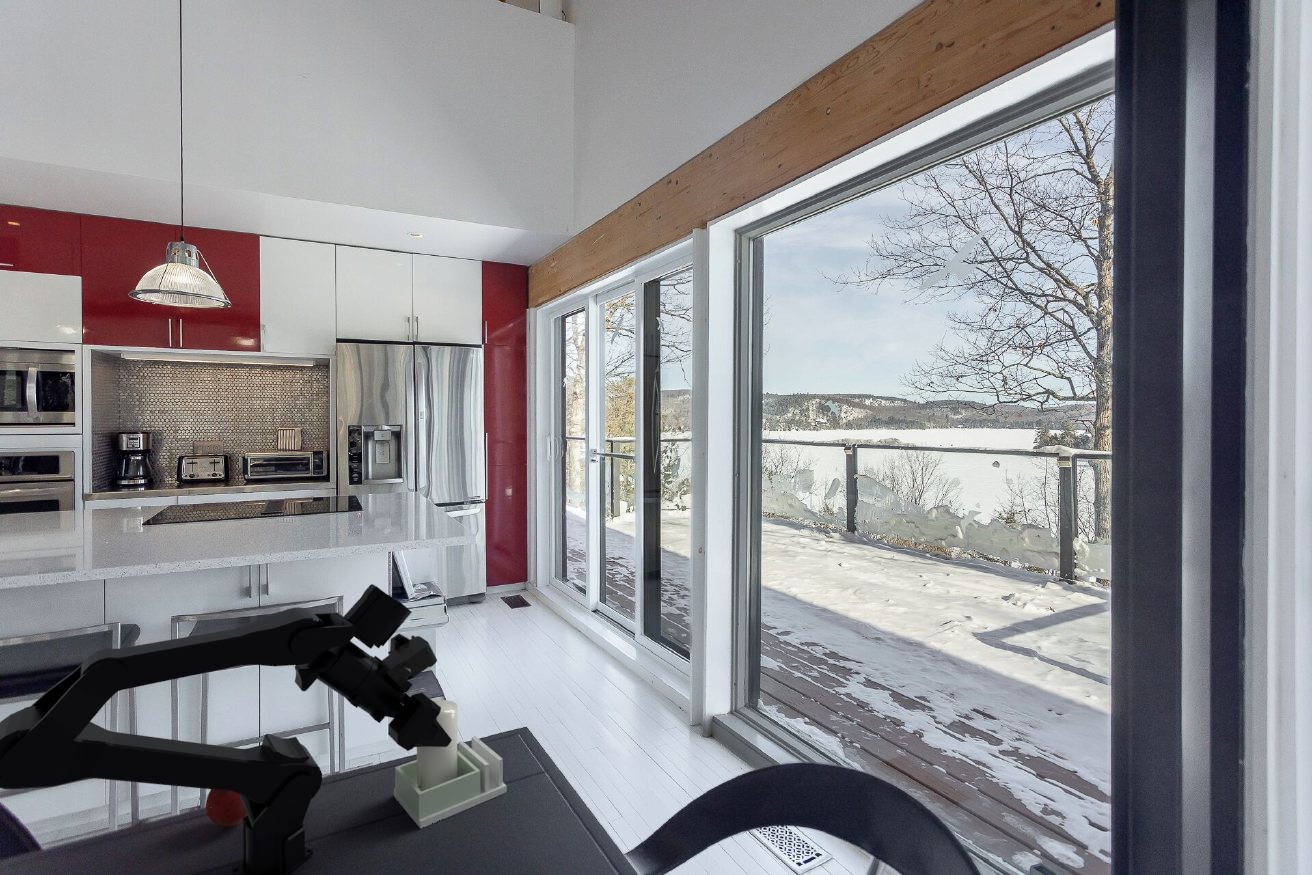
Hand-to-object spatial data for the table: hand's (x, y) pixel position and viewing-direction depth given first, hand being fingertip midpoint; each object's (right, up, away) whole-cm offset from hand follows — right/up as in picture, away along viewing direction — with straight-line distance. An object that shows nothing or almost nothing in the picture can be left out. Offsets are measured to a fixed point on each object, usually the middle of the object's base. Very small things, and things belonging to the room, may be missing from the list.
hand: (435, 730), depth 93 cm
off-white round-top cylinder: (0, -9, 0) cm, 9 cm away
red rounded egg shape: (-26, -10, -6) cm, 28 cm away
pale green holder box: (+2, -10, +2) cm, 11 cm away
